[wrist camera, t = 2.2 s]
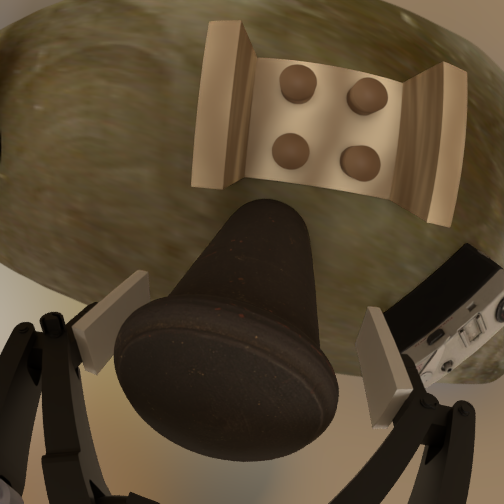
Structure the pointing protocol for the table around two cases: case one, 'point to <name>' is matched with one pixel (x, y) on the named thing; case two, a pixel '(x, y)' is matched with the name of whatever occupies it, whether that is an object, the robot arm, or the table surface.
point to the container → (235, 345)
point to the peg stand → (329, 126)
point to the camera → (449, 314)
